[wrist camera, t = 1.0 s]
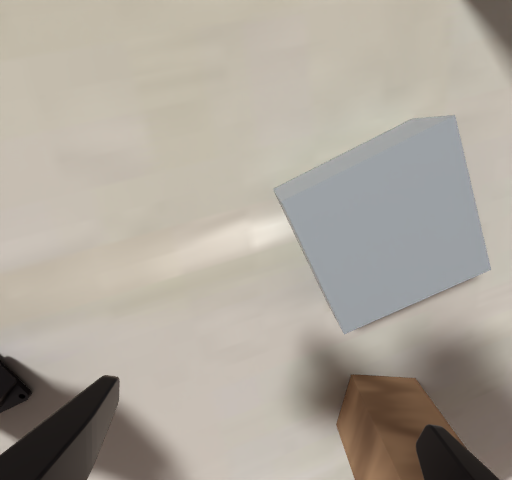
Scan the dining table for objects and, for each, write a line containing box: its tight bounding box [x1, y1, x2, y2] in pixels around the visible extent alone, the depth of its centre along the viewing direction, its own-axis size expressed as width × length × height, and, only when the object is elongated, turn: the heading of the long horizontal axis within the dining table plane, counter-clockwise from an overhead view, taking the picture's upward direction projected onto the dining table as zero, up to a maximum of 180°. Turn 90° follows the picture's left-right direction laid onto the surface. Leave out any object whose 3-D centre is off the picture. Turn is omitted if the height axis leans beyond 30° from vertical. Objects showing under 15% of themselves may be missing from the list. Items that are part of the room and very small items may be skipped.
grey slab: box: [273, 115, 491, 334], centre depth 20 cm, size 10×10×4 cm
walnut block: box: [336, 374, 466, 480], centre depth 22 cm, size 6×6×12 cm
